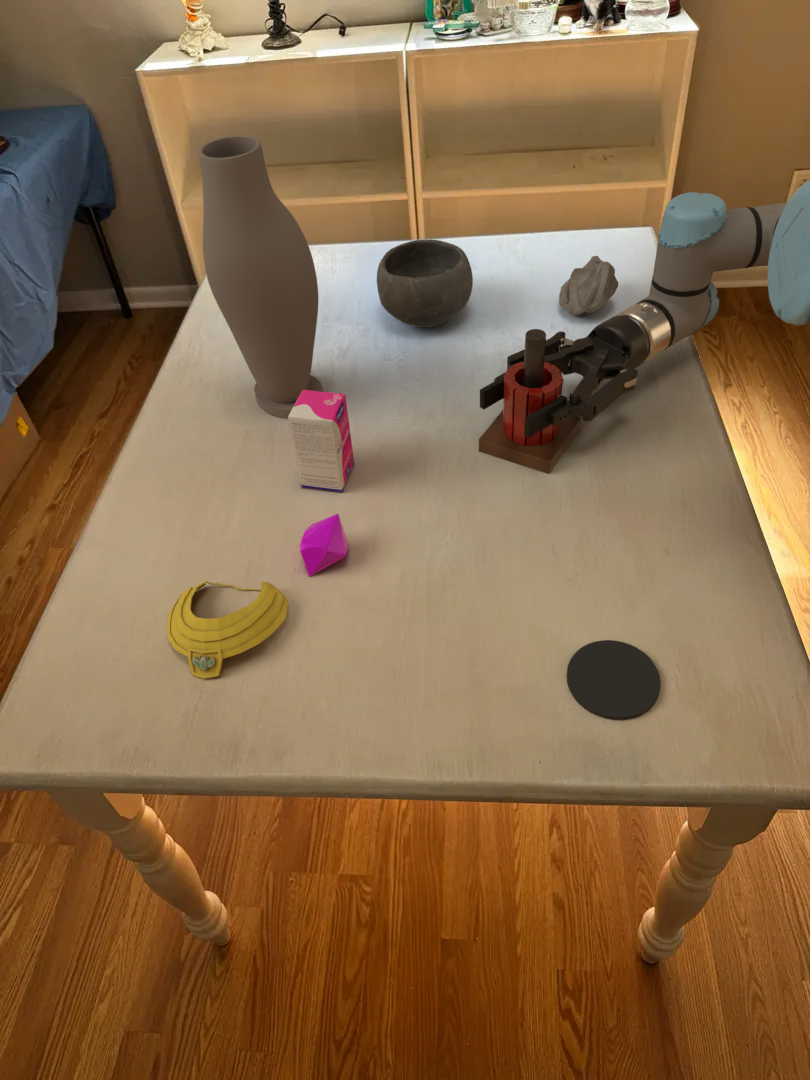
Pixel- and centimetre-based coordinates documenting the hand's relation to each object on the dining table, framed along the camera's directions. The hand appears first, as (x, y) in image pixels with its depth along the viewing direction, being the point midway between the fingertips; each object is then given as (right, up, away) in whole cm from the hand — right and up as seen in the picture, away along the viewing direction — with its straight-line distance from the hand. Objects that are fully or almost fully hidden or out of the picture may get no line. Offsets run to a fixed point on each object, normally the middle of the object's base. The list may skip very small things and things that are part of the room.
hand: (503, 413), depth 97 cm
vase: (-29, +5, +17) cm, 34 cm away
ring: (+4, -1, +6) cm, 7 cm away
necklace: (-32, -26, -11) cm, 43 cm away
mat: (+8, -29, -19) cm, 36 cm away
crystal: (-21, -18, -5) cm, 28 cm away
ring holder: (+4, -2, +7) cm, 9 cm away
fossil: (+17, +21, +29) cm, 40 cm away
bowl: (-9, +20, +30) cm, 37 cm away
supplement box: (-22, -7, +5) cm, 24 cm away
